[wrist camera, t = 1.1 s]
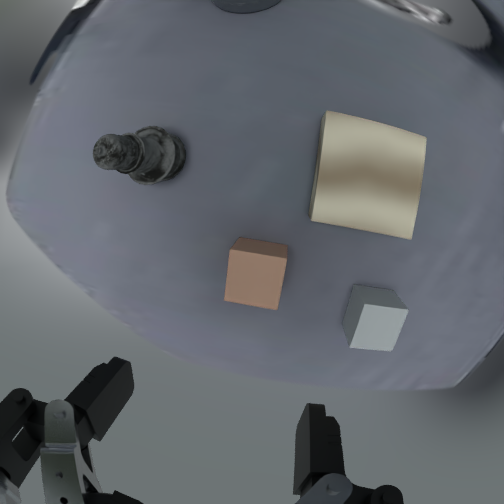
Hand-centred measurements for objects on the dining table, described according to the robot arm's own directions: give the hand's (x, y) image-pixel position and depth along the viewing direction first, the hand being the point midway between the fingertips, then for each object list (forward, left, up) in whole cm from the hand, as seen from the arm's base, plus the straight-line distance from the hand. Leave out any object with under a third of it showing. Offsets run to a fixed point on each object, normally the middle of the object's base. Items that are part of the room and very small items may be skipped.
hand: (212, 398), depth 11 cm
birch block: (-11, +9, -20) cm, 24 cm away
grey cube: (+3, +13, -20) cm, 24 cm away
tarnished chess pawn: (-10, -12, -20) cm, 25 cm away
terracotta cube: (0, 0, -20) cm, 20 cm away
